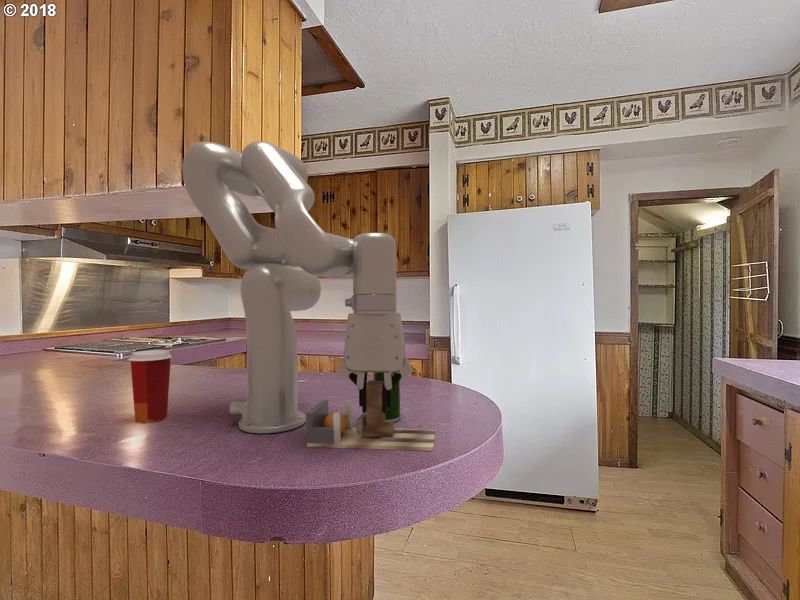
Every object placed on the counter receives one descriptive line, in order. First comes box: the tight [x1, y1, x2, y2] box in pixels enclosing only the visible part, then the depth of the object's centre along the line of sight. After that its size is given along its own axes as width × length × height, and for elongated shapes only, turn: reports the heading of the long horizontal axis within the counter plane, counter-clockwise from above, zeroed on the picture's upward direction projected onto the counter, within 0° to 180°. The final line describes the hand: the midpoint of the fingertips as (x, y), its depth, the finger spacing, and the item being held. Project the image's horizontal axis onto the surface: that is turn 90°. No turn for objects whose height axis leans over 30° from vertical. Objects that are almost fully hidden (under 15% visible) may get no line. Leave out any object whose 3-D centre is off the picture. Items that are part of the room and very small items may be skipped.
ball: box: [324, 411, 347, 434], centre depth 72 cm, size 4×4×4 cm
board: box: [306, 426, 436, 452], centre depth 71 cm, size 21×9×1 cm, turn 83°
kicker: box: [355, 379, 395, 437], centre depth 71 cm, size 6×6×9 cm
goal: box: [305, 399, 353, 444], centre depth 72 cm, size 6×9×5 cm, turn 173°
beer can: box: [372, 369, 401, 423], centre depth 83 cm, size 5×5×12 cm
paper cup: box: [127, 349, 173, 424], centre depth 84 cm, size 8×8×14 cm
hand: (375, 409), depth 71 cm, fingers closed on kicker, 2 cm apart
